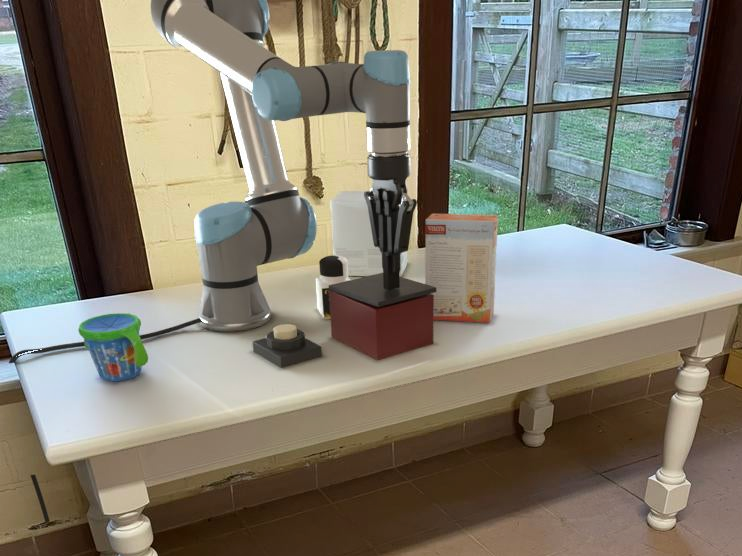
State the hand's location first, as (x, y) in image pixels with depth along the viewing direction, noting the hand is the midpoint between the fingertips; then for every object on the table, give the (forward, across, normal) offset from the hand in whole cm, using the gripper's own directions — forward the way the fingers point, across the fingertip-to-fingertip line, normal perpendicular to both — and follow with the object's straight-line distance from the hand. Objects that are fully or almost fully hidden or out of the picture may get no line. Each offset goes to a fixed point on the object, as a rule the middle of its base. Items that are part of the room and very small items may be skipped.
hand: (391, 287), depth 150 cm
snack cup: (+12, +21, +48) cm, 53 cm away
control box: (+12, +10, +18) cm, 24 cm away
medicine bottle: (+12, +24, -3) cm, 27 cm away
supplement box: (+12, +46, -28) cm, 55 cm away
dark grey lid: (+1, +3, 0) cm, 3 cm away
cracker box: (+12, +4, -21) cm, 25 cm away
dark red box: (+12, +4, 0) cm, 12 cm away
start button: (+8, +10, +18) cm, 22 cm away
